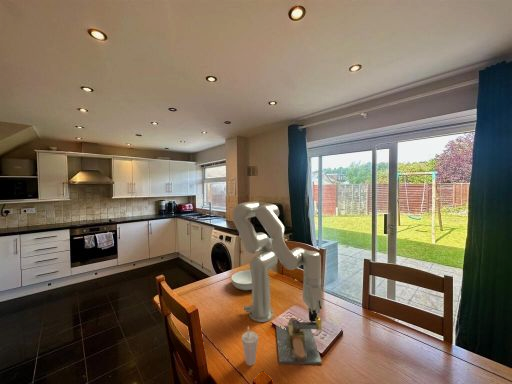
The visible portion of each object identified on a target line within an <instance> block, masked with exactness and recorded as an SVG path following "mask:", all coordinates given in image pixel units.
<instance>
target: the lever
mask: <svg viewBox="0 0 512 384" xmlns="http://www.w3.org/2000/svg"><path fill="white" fill-rule="evenodd" d="M322 327H323V326H322V318H321V317H320V316H317V317H316V321H314V322H311V321H299V320H297V319H296V320H293V321H292V329H293V331H294V332H299V331H300V329H311V330H318V331H321V330H322Z"/></svg>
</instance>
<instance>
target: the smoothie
mask: <svg viewBox="0 0 512 384" xmlns="http://www.w3.org/2000/svg"><path fill="white" fill-rule="evenodd" d="M241 342H242V346H243V352H244V359H245V363H246V365H247V366H254V365H255V363H256V359H257V358H256V357H257V348H258V342H259V335H258V334H257V332H254V331H250V325H247V331H245V332H244V333H243V334H242V335H241Z"/></svg>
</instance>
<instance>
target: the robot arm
mask: <svg viewBox="0 0 512 384" xmlns="http://www.w3.org/2000/svg"><path fill="white" fill-rule="evenodd" d="M279 216H280V210H279V207H278V205H276V204H273V203H268V202H263V201H255V200H254V201H248V202H247V201H246V202H240V203H238V204H236V206H234V208H233V210H232V215H231V217H232V221H233V224H234V226H235V228H236V229H237V232H238V234H239V236H240V237H239V238H240V239H241V242H242V244H243V246H244V249H245V250H246V252H247V254H250V255H252V254H255V253H256V255H254V256H253V257H252V258H251V260H250V261H249V264H248V265H249V270H250V272H251V279H252V289H251V301H252V302H251V304H250V305H244V306H243V310H244V311H245V313H248V314H249V318H250V319H251V320H253V321H254V322H257V323H265V322H266V323H267V322H269V321H270V320H272V319H273V318H274V310H273V309H272V308H271V281H270V280H271V279H270V277H269V274H268V271H270V270H272V269H273V268H274V267H276V265H277V263H278V262H280V264H281V265H282V266H283V267H284V268H285V269H287V270H290V271H292V270H293V271H294V270H296V269H298V267H300V266H302V265H303V284H302V299H303V300H302V301H303V302H304V303H305V305H306V306H307V309H308V320H309V322H316V317H318V315H320V314H321V310H322V309H323V293H322V256H321V254H320V252H318V251H316V250H308V249H306V248H302V247H298V246H297V247H294V248H292V249H289V247H288V246H287V244H286V242H285V239H284V238H285V237H284V234H285V231H286V227H285V226H284V224H283V222H282V221H281V220H280V219H279V218H278V217H279ZM254 217H256V218H257V220H258V221H259V222H260V224H261V225H262V227H263V229H264V230H265V232H267V234H268V235H267V234H266V233H264V232H256V230H255V227H254V225H253V224H252V222H251V221H249V219H250V218H254ZM270 239H271V240H270ZM258 252H259V253H258ZM257 253H258V254H257Z"/></svg>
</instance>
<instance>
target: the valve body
mask: <svg viewBox="0 0 512 384" xmlns="http://www.w3.org/2000/svg"><path fill="white" fill-rule="evenodd" d="M293 320H297V319H296V318H295V317H290V318H289V319H288V322H287V325H283V326H284V327H285V328H286V330H285V328H284V329H282V328H281V326H282V325H275V331H276V341H277V342H276V343H277V352H278V354H277V355H278V364H279V365H322V364H323V361H322V358H321V356H320V352H319V349H318V347H317V344H316V340H315V336H314V334H313V331H312V329H300V331H299V332H294V331H293V329H292V321H293ZM279 326H280V327H279ZM317 349H318V350H317Z"/></svg>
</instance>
